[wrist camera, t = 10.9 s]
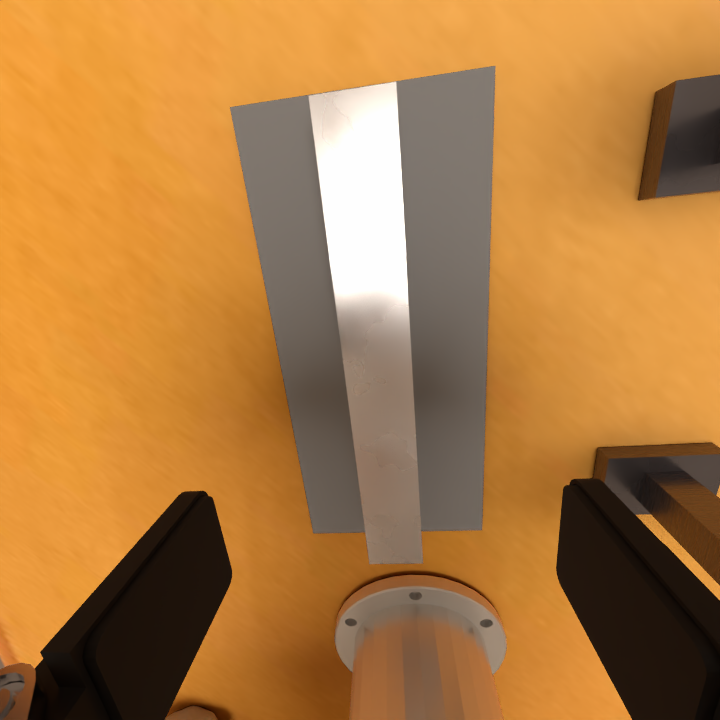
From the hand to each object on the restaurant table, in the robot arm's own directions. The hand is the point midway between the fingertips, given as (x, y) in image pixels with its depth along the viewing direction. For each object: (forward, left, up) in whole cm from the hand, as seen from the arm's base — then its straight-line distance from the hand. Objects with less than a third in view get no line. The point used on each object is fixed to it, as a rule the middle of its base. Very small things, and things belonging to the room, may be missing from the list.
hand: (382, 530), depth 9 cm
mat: (+1, 0, -10) cm, 10 cm away
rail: (+1, 0, -10) cm, 10 cm away
